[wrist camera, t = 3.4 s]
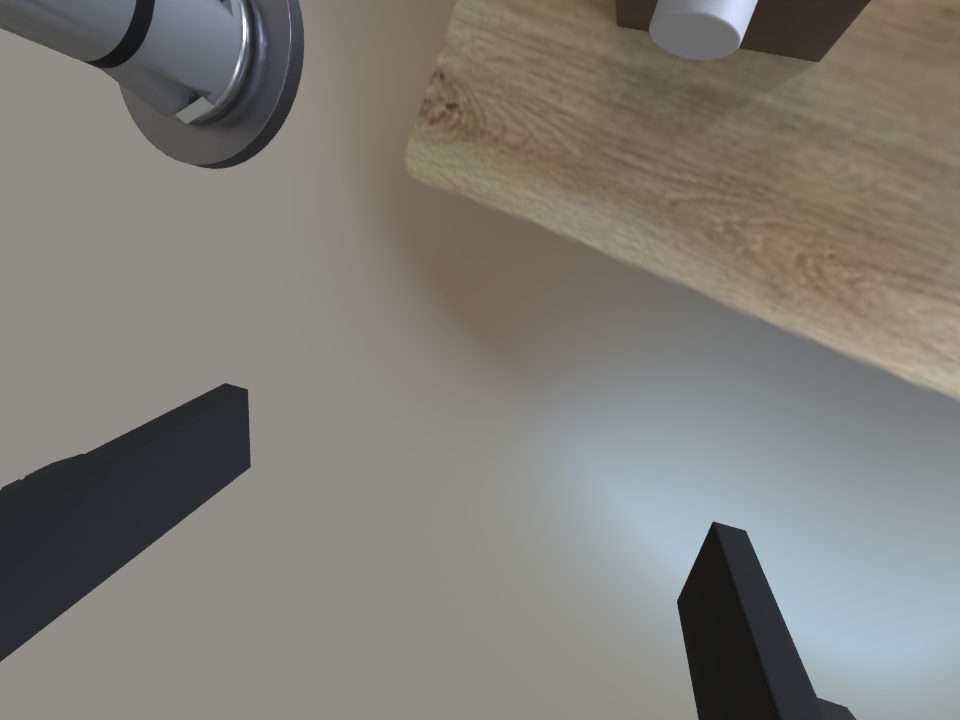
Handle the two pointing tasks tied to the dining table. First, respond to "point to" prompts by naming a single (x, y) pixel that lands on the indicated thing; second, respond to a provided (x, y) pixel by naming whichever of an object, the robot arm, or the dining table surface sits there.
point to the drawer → (700, 27)
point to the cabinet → (773, 24)
